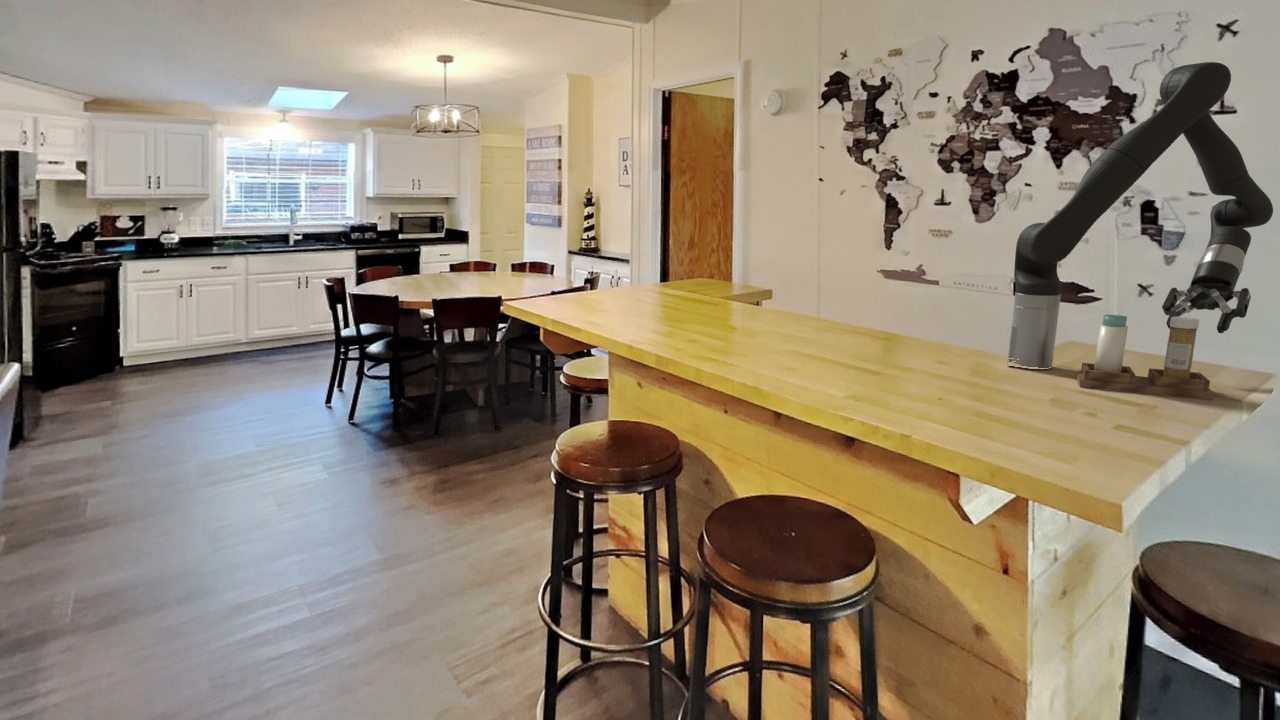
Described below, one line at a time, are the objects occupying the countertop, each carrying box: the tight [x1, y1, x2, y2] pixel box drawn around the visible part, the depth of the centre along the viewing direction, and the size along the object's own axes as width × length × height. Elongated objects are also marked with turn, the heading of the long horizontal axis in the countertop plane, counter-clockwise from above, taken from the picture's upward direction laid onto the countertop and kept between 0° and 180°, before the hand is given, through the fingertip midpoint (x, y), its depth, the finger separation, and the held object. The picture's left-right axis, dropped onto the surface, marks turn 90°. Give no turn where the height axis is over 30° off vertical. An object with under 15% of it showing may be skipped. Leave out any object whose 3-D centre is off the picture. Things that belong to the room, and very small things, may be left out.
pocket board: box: [1075, 362, 1214, 401], centre depth 145 cm, size 22×10×4 cm, turn 62°
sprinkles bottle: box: [1163, 316, 1200, 379], centre depth 141 cm, size 5×5×14 cm
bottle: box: [1094, 314, 1129, 373], centre depth 147 cm, size 5×5×13 cm
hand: (1195, 329), depth 149 cm, fingers open, 8 cm apart
